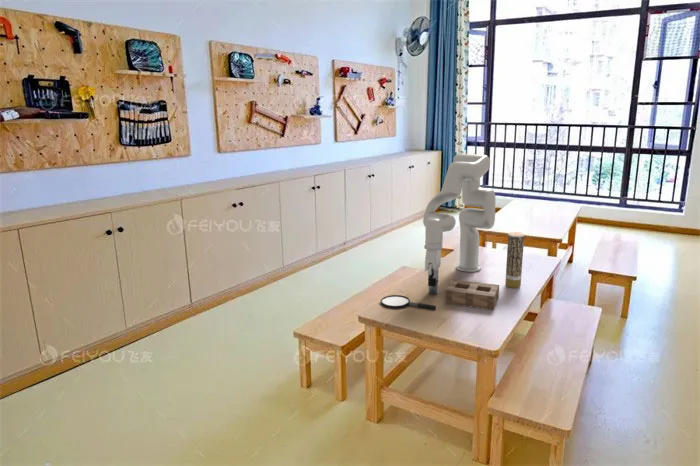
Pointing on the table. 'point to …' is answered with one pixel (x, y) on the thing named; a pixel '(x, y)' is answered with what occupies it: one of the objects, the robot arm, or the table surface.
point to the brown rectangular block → (472, 294)
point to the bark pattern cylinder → (514, 259)
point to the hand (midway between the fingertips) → (433, 283)
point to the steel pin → (435, 289)
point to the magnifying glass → (403, 303)
